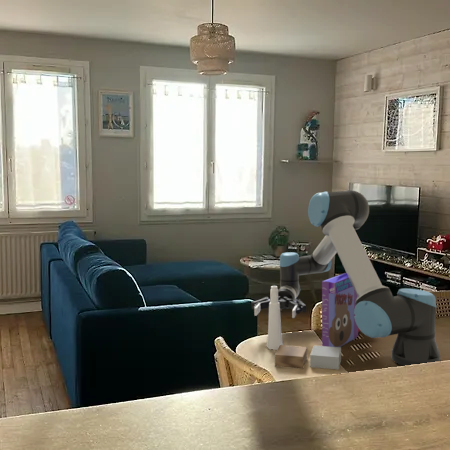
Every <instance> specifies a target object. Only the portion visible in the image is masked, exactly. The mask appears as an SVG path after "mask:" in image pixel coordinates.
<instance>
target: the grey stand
mask: <svg viewBox="0 0 450 450" xmlns="http://www.w3.org/2000/svg"><path fill="white" fill-rule="evenodd" d="M341 361H342V346H341V347H328V346H322V345H313V347H312V349H311V352H310V354H309V367H310V368H318V369H329V370H331V369H332V370H340V365H341Z"/></svg>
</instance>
